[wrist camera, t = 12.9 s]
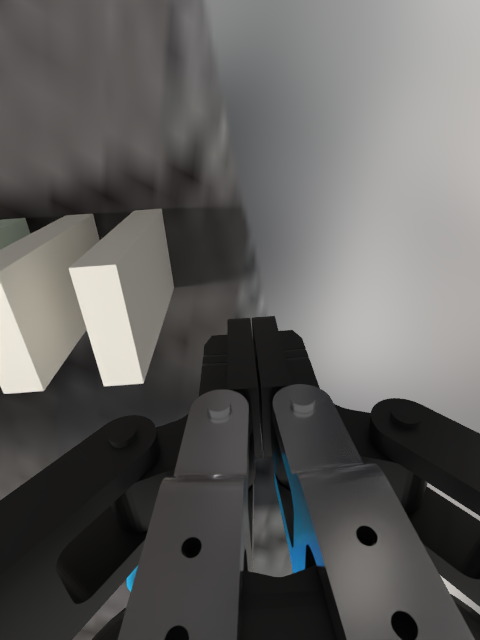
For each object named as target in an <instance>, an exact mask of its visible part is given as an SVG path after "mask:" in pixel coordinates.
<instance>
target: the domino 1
mask: <svg viewBox="0 0 480 640" xmlns="http://www.w3.org/2000/svg"><path fill="white" fill-rule="evenodd" d="M99 241H100V240H99V236H98V232H97V228H96V224H95V220H94V216H93V214H79V215H65V216H64V217H62V218H60V219H58V220H56V221H54V222H52V223H50V224H48V225H46V226H45V227H43V228H41V229H39V230H37V231H35V232H33V233H31V234H29V235H27V236H25V237H24V238H22V239H20V240H18V241H16V242H14V243H12V244H10V245H8V246H6V247H5V248H3V249H1V250H0V387H1V389H2V391H3V393H4V394H10V393H24V392H37V391H44V390H45V389H46V387H47V386H48V384H49V383H50V382H51V380H52V379H53V377H54V376H55V374H56V373H57V371H58V370H59V369H60V367H61V366H62V364H63V363H64V361H65V360H66V359H67V357H68V356H69V354H70V353H71V351H72V350H73V348H74V347H75V346H76V344H77V343H78V341H79V340H80V338H81V337H82V335H83V334H84V333H85V331H86V330H87V329H86V325H85V322H84V319H83V315H82V312H81V309H80V305H79V302H78V299H77V295H76V292H75V289H74V285H73V282H72V278H71V275H70V272H69V267H70V266H71V265H72V264H73V263H75V262H76V261H77V260H78V259H79V258H80V257H82V256H83V255H84V254H85V253H86V252H87V251H88V250H90V249H91V248H92V247H93V246H94V245H95V244H96V243H98V242H99Z"/></svg>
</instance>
